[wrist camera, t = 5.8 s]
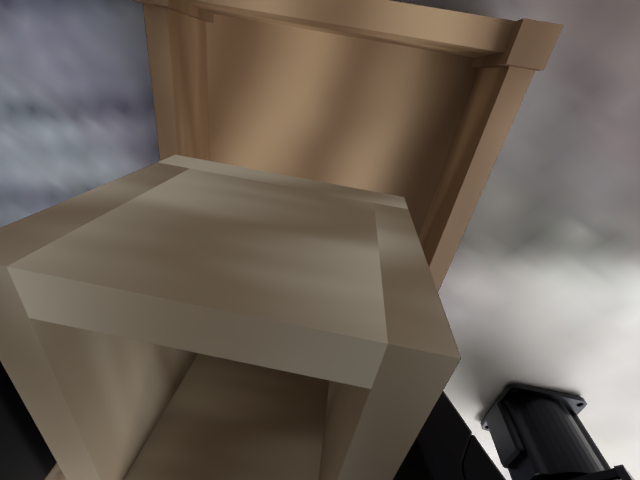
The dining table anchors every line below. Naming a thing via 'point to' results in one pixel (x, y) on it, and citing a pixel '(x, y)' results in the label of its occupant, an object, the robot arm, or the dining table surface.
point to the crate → (347, 96)
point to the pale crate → (223, 327)
